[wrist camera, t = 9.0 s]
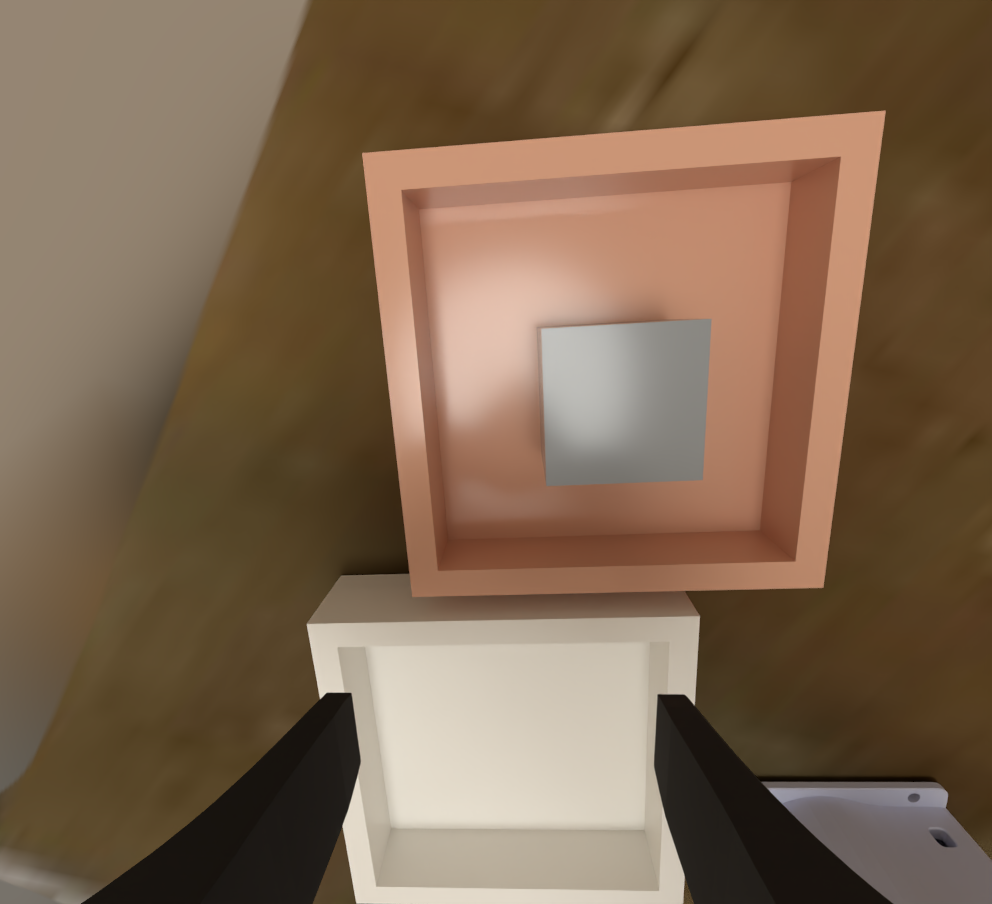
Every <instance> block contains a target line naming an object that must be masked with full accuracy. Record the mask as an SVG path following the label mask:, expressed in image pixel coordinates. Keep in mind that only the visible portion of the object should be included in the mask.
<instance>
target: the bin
mask: <svg viewBox="0 0 992 904" xmlns="http://www.w3.org/2000/svg"><path fill="white" fill-rule="evenodd" d="M885 112H886V111H876V112H863V113H851V114H839V115H826V116H814V117H802V118H789V119H777V120H765V121H752V122H740V123H728V124H715V125H703V126H691V127H679V128H666V129H654V130H642V131H629V132H617V133H605V134H592V135H580V136H568V137H555V138H543V139H531V140H518V141H506V142H494V143H481V144H469V145H457V146H444V147H432V148H420V149H407V150H395V151H383V152H371V153H362V155H363V164H364V173H365V182H366V191H367V200H368V209H369V217H370V226H371V235H372V244H373V253H374V262H375V271H376V280H377V288H378V297H379V306H380V315H381V324H382V333H383V342H384V351H385V359H386V368H387V377H388V386H389V395H390V404H391V413H392V422H393V430H394V439H395V448H396V457H397V466H398V475H399V484H400V493H401V502H402V510H403V519H404V528H405V537H406V546H407V555H408V564H409V573H410V581H411V590H412V597H438V596H482V595H526V594H570V593H614V592H658V591H702V590H746V589H790V588H823V586H824V579H825V571H826V563H827V556H828V548H829V540H830V533H831V525H832V517H833V510H834V502H835V494H836V487H837V479H838V471H839V464H840V456H841V448H842V441H843V433H844V425H845V418H846V410H847V402H848V395H849V387H850V380H851V372H852V364H853V357H854V349H855V341H856V334H857V326H858V318H859V311H860V303H861V295H862V288H863V280H864V272H865V265H866V257H867V249H868V242H869V234H870V226H871V219H872V211H873V203H874V196H875V188H876V181H877V173H878V165H879V158H880V150H881V142H882V135H883V127H884V119H885ZM665 319H712V321H711V339H710V358H709V376H708V394H707V413H706V431H705V450H704V468H703V480H694V481H668V482H641V483H615V484H589V485H562V486H546V480H545V474H544V467H543V461H542V454H541V436H540V407H539V378H538V350H537V327H545V326H562V325H579V324H596V323H614V322H631V321H648V320H665Z"/></svg>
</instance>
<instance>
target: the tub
mask: <svg viewBox="0 0 992 904" xmlns="http://www.w3.org/2000/svg"><path fill="white" fill-rule="evenodd" d="M699 623H700V616H699V614H698V612H697V611H696V609H695V607H694V606H693V604H692V602H691V601H690V599H689V597H688V596H687V594H686V592H685V591H658V592H614V593H570V594H526V595H482V596H438V597H412V590H411V581H410V574H380V575H341V576H340V578H339V579H338V580H337V582H336V583H335V585H334V586H333V588H332V589H331V590H330V592H329V593H328V595H327V596H326V597H325V599H324V600H323V602H322V603H321V604H320V606H319V607H318V609H317V610H316V612H315V613H314V614H313V616H312V617H311V619H310V620H309V621H308V623H307V628H308V634H309V639H310V645H311V651H312V656H313V662H314V668H315V673H316V679H317V684H318V690H319V696H320V699H321V698H322V697H323V696H324V695H325V694H326V693H352V699H353V707H354V714H355V721H356V728H357V736H358V743H359V750H360V757H361V764H360V768H359V772H358V776H357V780H356V784H355V787H354V791H353V795H352V798H351V802H350V805H349V809H348V812H347V815H346V817H345V820H344V823H343V830H344V836H345V842H346V847H347V853H348V858H349V864H350V870H351V875H352V881H353V886H354V892H355V898H356V903H373V904H683V896H684V879H685V875H684V872H683V869H682V866H681V863H680V860H679V857H678V854H677V851H676V848H675V845H674V842H673V839H672V836H671V833H670V830H669V827H668V823H667V820H666V817H665V813H664V809H663V805H662V801H661V796H660V792H659V787H658V783H657V778H656V774H655V769H654V752H655V733H656V714H657V695H658V694H685V695H686V696H687V697H688V698H689V699H690V701H691V702H692V703H693V704H694V705H695V691H696V674H697V657H698V640H699Z"/></svg>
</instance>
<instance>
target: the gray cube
mask: <svg viewBox="0 0 992 904" xmlns="http://www.w3.org/2000/svg"><path fill="white" fill-rule="evenodd" d="M711 321H712V319H665V320H648V321H631V322H614V323H596V324H579V325H562V326H545V327H537V350H538V378H539V407H540V436H541V454H542V461H543V467H544V474H545V480H546V486H562V485H589V484H615V483H641V482H668V481H694V480H703V468H704V450H705V431H706V413H707V394H708V376H709V358H710V339H711Z"/></svg>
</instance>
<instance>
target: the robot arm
mask: <svg viewBox="0 0 992 904" xmlns="http://www.w3.org/2000/svg"><path fill="white" fill-rule="evenodd" d="M360 764H361V757H360V750H359V743H358V736H357V728H356V721H355V714H354V707H353V699H352V693H326V694H325V695H324V696H323V697H322V698H321V699H320V700H319V701H318V702H317V703H316V704H315V705H314V706H313V707H312V708H311V709H310V710H309V711H308V712H307V713H306V714H305V715H304V716H303V717H302V718H301V719H300V720H299V721H298V722H297V723H296V724H295V725H294V726H293V727H292V728H291V729H290V730H289V731H288V732H287V733H286V734H285V735H284V736H283V737H282V738H281V739H280V740H279V741H278V742H277V743H276V744H275V745H274V746H273V747H272V748H271V749H270V750H269V751H268V752H267V753H266V754H265V755H264V756H263V757H262V758H261V759H260V760H259V761H258V762H257V763H256V764H255V765H254V766H253V767H252V768H251V769H250V770H249V771H248V772H247V773H246V774H245V775H243V776H242V777H241V778H240V779H239V780H238V781H237V782H236V783H235V784H234V785H233V786H231V787H230V788H229V789H228V790H227V791H226V792H225V793H224V794H223V795H222V796H221V797H219V798H218V799H217V800H216V801H215V802H214V803H213V804H212V805H210V806H209V807H208V808H207V809H206V810H205V811H204V812H202V813H201V814H200V815H199V816H198V817H196V818H195V819H194V820H193V821H192V822H190V823H189V824H188V825H187V826H185V827H184V828H183V829H182V830H180V831H179V832H178V833H177V834H175V835H174V836H173V837H172V838H170V839H169V840H168V841H167V842H165V843H164V844H163V845H162V846H160V847H159V848H158V849H156V850H155V851H154V852H153V853H151V854H150V855H149V856H147V857H146V858H144V859H143V860H142V861H140V862H139V863H137V864H136V865H135V866H133V867H132V868H131V869H129V870H128V871H126V872H125V873H124V874H122V875H121V876H120V877H118V878H117V879H115V880H114V881H113V882H111V883H110V884H109V885H107V886H106V887H104V888H103V889H102V890H100V891H99V892H97V893H96V894H95V895H93V896H92V897H90V898H89V899H87V900H86V901H84V902H83V903H81V904H313V901H314V898H315V896H316V893H317V891H318V888H319V885H320V883H321V880H322V878H323V875H324V873H325V870H326V867H327V865H328V862H329V860H330V857H331V854H332V852H333V849H334V847H335V844H336V841H337V839H338V836H339V833H340V831H341V828H342V825H343V823H344V820H345V817H346V815H347V812H348V809H349V805H350V802H351V798H352V795H353V791H354V787H355V784H356V780H357V776H358V772H359V768H360ZM654 769H655V774H656V778H657V783H658V787H659V792H660V796H661V801H662V805H663V809H664V813H665V817H666V820H667V823H668V827H669V830H670V833H671V836H672V839H673V842H674V845H675V848H676V851H677V854H678V857H679V860H680V863H681V866H682V869H683V872H684V875H685V878H686V881H687V884H688V887H689V890H690V893H691V896H692V899H693V902H694V904H992V860H991V859H990V858H989V857H988V856H987V855H986V854H985V852H984V851H983V850H982V849H981V848H980V847H979V845H978V844H977V843H976V842H975V841H974V840H973V839H972V837H971V836H970V835H969V834H968V833H967V832H966V831H965V829H964V828H963V827H962V826H961V825H960V824H959V823H958V821H957V820H956V819H955V818H954V817H953V816H952V815H951V813H950V812H949V811H948V810H947V809H946V804H947V800H948V793H947V791H946V790H945V789H944V788H943V787H942V786H941V785H940V784H938V783H935V782H761V781H760V780H759V779H758V778H757V777H756V776H755V775H754V774H753V773H752V771H751V770H750V769H749V768H748V767H747V766H746V765H745V764H744V763H743V762H742V761H741V759H740V758H739V757H738V756H737V755H736V754H735V753H734V752H733V750H732V749H731V748H730V747H729V746H728V745H727V744H726V742H725V741H724V740H723V739H722V738H721V737H720V735H719V734H718V733H717V732H716V731H715V730H714V728H713V727H712V726H711V725H710V724H709V722H708V721H707V720H706V719H705V718H704V716H703V715H702V714H701V713H700V711H699V710H698V709H697V708H696V707H695V705H694V704H693V703H692V702H691V701H690V699H689V698H688V697H687V696H686V695H685V694H658V695H657V714H656V733H655V752H654Z"/></svg>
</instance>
